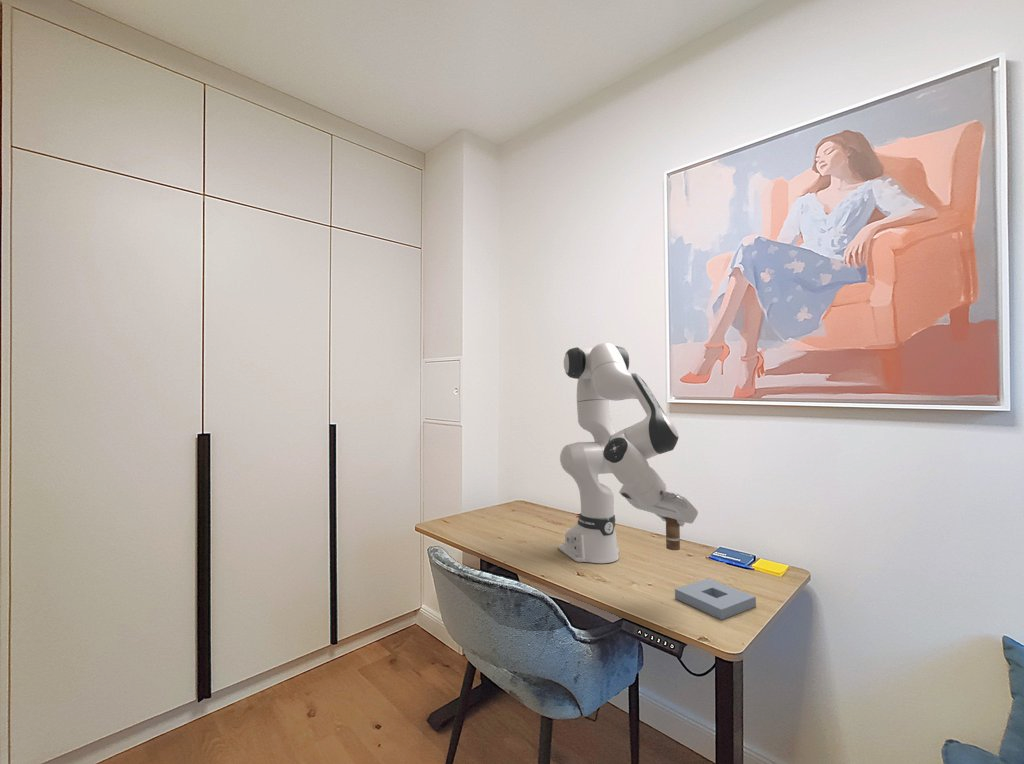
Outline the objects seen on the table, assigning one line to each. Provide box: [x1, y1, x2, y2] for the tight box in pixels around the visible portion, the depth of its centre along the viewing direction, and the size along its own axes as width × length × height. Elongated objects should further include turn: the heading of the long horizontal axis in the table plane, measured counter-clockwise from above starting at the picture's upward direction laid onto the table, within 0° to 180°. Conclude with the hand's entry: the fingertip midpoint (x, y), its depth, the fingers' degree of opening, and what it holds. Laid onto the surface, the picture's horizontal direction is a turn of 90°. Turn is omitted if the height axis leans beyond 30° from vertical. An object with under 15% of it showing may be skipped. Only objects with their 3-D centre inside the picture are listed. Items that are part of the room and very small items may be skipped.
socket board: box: [674, 578, 757, 621], centre depth 122 cm, size 14×14×2 cm
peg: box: [665, 517, 681, 551], centre depth 124 cm, size 4×4×12 cm
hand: (674, 521), depth 125 cm, fingers closed on peg, 3 cm apart
